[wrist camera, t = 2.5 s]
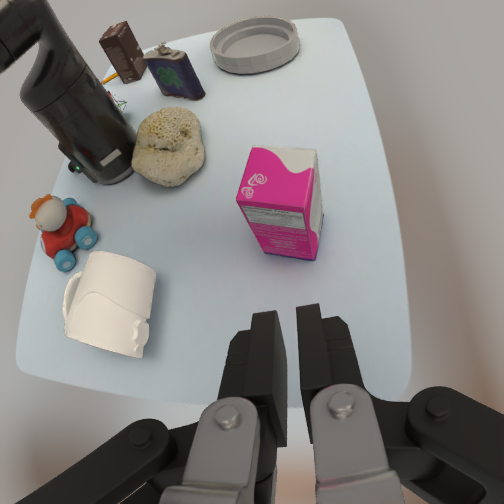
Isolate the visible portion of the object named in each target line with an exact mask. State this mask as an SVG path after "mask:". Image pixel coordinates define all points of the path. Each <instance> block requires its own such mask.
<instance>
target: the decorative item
mask: <svg viewBox="0 0 504 504" xmlns="http://www.w3.org/2000/svg"><path fill="white" fill-rule="evenodd" d="M200 129H201V127H200V122H199V120H198V118H197V117H196V115H195V114H193V113H192V112H190V111H189V110H187V109H185V108H179V107H175V108H165V109H161V110H160V111H157V112H155V113H152V114H151V115H150V116H148V117H147V118H146V119H145V120H143V122H142V123H141V124H140V126H139V129H138V132H137V142H136V146H135V148H134V151H133V159H132V161H131V162H132V168H133V169H134V170H135V171H136V172H137V173H139V174H140V175H143V177H145V178H147V179H148V180H150V181H151V182H153V183H157V184H159V185H164V186H165V187H169V186H172V187H173V186H177V185H181V184H182V183H183V182H184V181H186V179H187V178H188V177H189V176H190V175H191V174H193V173H194V172H196V171H197V170H198V169H199V168H200V167H201V166H202V164H203V162H204V157H205V153H204V146H203V144H202V142H201V137H200V136H201V135H200Z"/></svg>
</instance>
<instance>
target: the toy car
mask: <svg viewBox="0 0 504 504" xmlns="http://www.w3.org/2000/svg"><path fill="white" fill-rule="evenodd" d="M31 210H32V212H31V213H30V215H29V217H30V218H31V219H33V218H35V220H36V223H37V228H38V229H39V230H41V231H42V235H41V246H42V249H43V251H44V252H45V254H47V255H48V256H49V257H51V258H53V259H54V261H55V264H56V267H57V268H58V270H60V271H62V272H66V271H69V270H70V269H72V268H73V266H74V265H75V258H74V256H73V253H72V251H73V250H74V249H75V248H76V246H77V245H78V246H79V247H80V248H81V249H89V248H91V247H92V246H93V245H94V244H95V242H96V240H97V235H96V233H95V232H94V230H93V229H92V228H91V227H90V223H91V219H90V215H89V213H88V212H87V211H86V210H85V209H84V208H82V207H80V206H78V204H77V202H76V201H75V200H74V199H73V198H67V199H64V200H63V201H62V200H61V199H60V198H58V197H55V196H51V195H50V194H47V195H46V196H45V197H44V198H39V199H37V200H36V201H34V203H33V204H32V206H31Z"/></svg>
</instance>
